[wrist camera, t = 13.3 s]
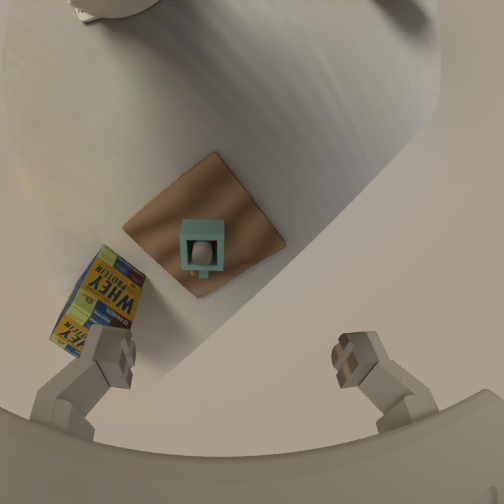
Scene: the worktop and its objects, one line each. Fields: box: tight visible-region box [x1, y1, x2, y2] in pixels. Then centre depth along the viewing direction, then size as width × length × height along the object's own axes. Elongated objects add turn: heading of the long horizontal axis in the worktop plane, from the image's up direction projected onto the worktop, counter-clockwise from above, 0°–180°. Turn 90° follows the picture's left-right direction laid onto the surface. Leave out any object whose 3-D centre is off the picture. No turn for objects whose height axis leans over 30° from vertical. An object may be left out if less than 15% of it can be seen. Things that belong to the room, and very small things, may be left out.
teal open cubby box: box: [179, 219, 224, 278], centre depth 44 cm, size 10×7×5 cm, turn 175°
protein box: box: [49, 245, 145, 358], centre depth 43 cm, size 10×15×16 cm
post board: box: [122, 151, 286, 298], centre depth 43 cm, size 20×20×7 cm
